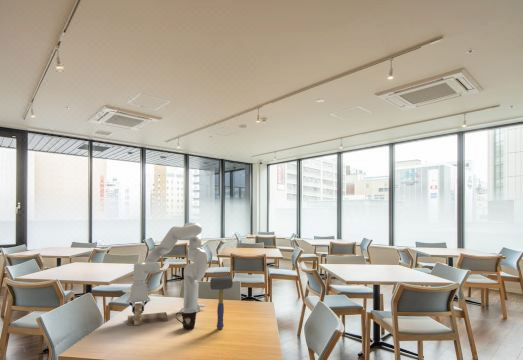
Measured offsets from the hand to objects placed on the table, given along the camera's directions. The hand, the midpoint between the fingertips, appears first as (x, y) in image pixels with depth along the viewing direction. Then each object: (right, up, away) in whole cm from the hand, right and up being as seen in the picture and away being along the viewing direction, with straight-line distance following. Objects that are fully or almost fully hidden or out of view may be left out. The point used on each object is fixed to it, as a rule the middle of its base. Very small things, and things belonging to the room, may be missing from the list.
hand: (137, 312), depth 202 cm
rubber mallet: (+52, -6, -10) cm, 53 cm away
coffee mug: (+32, -5, -10) cm, 34 cm away
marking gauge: (0, -5, -2) cm, 5 cm away
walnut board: (+5, -6, +2) cm, 8 cm away
